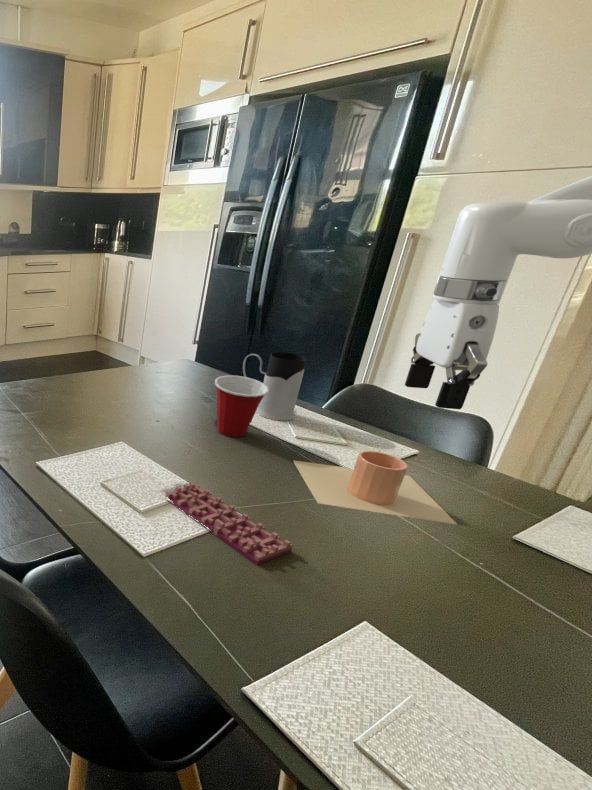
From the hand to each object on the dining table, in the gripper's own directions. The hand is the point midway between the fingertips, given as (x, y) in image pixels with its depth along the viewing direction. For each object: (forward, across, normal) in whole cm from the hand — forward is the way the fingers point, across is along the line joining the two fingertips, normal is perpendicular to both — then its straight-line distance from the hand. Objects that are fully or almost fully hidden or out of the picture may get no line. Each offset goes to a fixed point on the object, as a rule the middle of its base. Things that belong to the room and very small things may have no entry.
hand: (431, 396), depth 79 cm
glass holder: (+19, +38, +14) cm, 45 cm away
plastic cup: (+19, +21, +24) cm, 37 cm away
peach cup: (+19, 0, +4) cm, 20 cm away
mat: (+19, 0, +4) cm, 20 cm away
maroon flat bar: (+19, -17, +31) cm, 40 cm away
